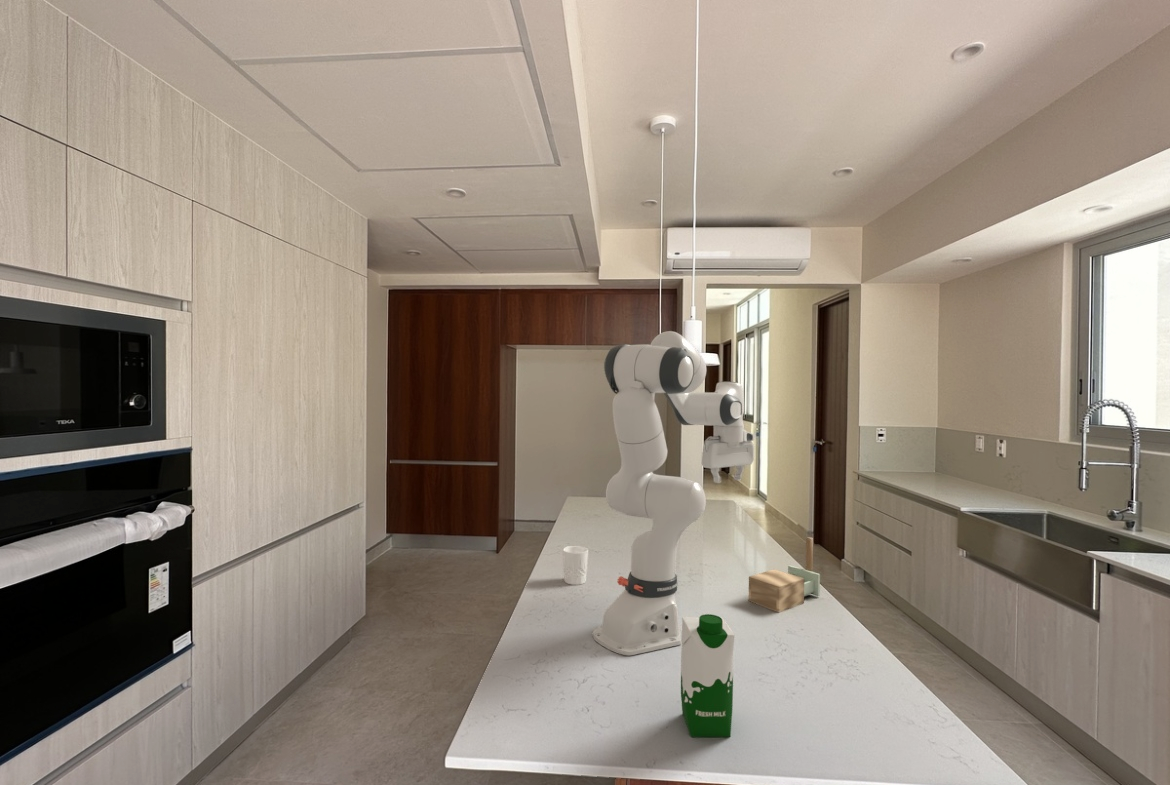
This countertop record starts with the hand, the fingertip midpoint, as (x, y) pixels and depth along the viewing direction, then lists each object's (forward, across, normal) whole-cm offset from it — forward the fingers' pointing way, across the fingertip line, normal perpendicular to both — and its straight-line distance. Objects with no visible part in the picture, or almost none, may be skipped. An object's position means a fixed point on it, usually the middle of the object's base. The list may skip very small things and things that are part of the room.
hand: (727, 481), depth 167 cm
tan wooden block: (+33, +5, -14) cm, 36 cm away
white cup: (+33, -33, +32) cm, 57 cm away
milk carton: (+33, -57, -42) cm, 78 cm away
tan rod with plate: (+33, +15, -14) cm, 39 cm away
